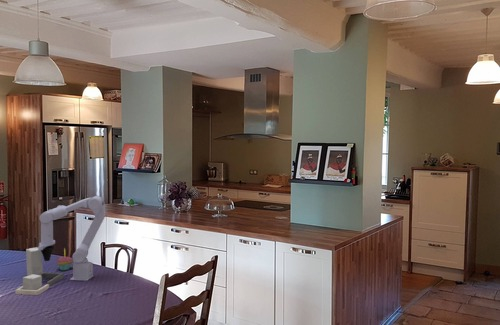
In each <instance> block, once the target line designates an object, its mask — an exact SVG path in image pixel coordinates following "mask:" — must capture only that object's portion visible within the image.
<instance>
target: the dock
mask: <svg viewBox="0 0 500 325" xmlns="http://www.w3.org/2000/svg"><path fill="white" fill-rule="evenodd" d="M40 276H42V280H43V279H50V280H47V281H46V284H49V288H50V287H51V286H53V285H54V284H56V283H58V282H60V281H61V280H62V279H63V280H64V272H62V273H61V272H43V273H42V274H40Z"/></svg>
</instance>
